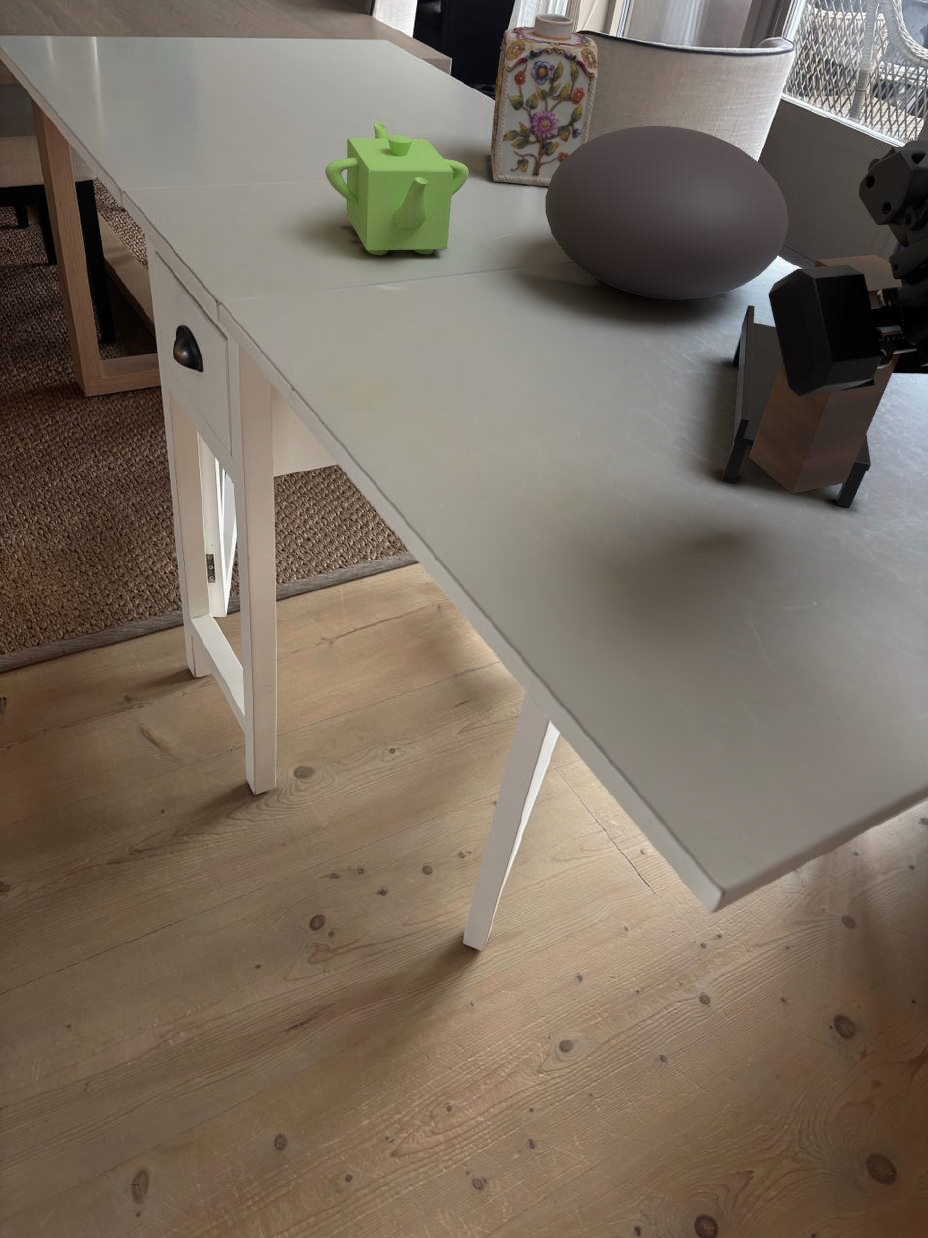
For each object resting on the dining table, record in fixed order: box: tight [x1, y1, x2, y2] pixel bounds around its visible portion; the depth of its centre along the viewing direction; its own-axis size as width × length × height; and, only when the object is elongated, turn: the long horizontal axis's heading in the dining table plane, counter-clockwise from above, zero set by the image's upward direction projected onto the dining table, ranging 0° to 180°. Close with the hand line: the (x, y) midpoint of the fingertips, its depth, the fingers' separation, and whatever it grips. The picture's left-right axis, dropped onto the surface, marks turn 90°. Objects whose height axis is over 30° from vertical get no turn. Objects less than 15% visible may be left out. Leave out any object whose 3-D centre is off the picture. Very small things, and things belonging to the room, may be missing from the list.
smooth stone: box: [544, 125, 789, 301], centre depth 97 cm, size 25×25×15 cm
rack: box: [722, 304, 872, 508], centre depth 79 cm, size 10×22×6 cm, turn 166°
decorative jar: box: [490, 13, 599, 188], centre depth 121 cm, size 12×12×18 cm
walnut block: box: [749, 254, 903, 494], centre depth 59 cm, size 5×5×14 cm
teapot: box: [324, 122, 470, 256], centre depth 100 cm, size 15×13×11 cm
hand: (818, 367), depth 60 cm, fingers closed on walnut block, 4 cm apart
